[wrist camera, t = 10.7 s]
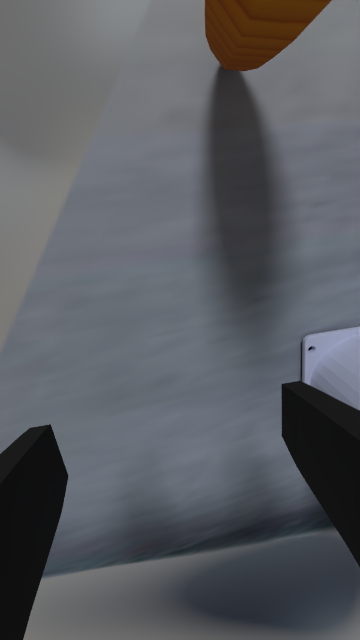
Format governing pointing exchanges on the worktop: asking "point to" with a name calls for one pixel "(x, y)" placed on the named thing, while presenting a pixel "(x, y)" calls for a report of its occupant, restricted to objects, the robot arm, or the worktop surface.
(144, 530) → the worktop surface
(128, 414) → the worktop surface
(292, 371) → the worktop surface
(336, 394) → the robot arm
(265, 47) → the carrot
